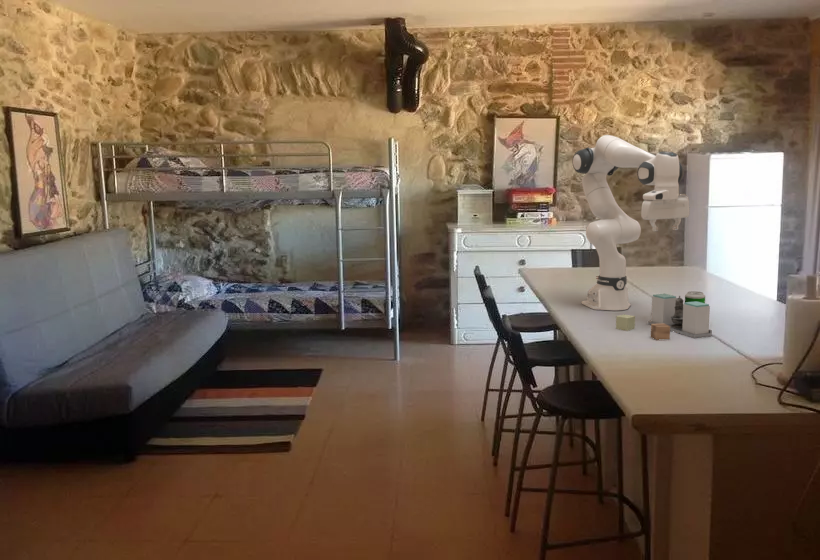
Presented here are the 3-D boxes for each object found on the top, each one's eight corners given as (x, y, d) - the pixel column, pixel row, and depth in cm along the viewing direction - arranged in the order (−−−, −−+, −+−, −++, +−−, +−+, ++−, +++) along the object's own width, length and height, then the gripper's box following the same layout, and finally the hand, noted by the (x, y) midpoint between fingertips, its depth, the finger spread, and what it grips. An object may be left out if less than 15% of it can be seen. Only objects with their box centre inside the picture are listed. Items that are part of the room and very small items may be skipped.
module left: (651, 321, 298) (652, 294, 297) (663, 319, 300) (664, 293, 299) (663, 324, 292) (663, 297, 290) (675, 323, 294) (676, 296, 292)
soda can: (691, 325, 295) (693, 294, 294) (680, 321, 303) (681, 291, 301) (708, 323, 297) (709, 293, 296) (696, 319, 305) (697, 290, 303)
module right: (682, 330, 282) (683, 302, 280) (695, 328, 284) (696, 301, 282) (695, 334, 275) (696, 305, 273) (708, 332, 277) (709, 304, 275)
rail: (648, 323, 299) (648, 318, 298) (665, 322, 301) (665, 316, 301) (694, 338, 274) (694, 332, 274) (711, 335, 277) (711, 330, 277)
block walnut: (650, 337, 278) (651, 323, 277) (663, 336, 278) (664, 323, 277) (656, 340, 273) (656, 326, 272) (669, 339, 273) (670, 326, 272)
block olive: (616, 328, 292) (616, 316, 291) (623, 326, 295) (623, 314, 294) (627, 331, 288) (627, 318, 287) (634, 328, 291) (635, 316, 290)
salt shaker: (683, 324, 291) (684, 294, 289) (689, 328, 285) (690, 296, 283) (668, 325, 291) (669, 294, 289) (673, 328, 285) (674, 297, 283)
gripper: (682, 193, 295) (681, 228, 298) (639, 195, 288) (638, 231, 291) (694, 193, 290) (692, 229, 292) (649, 195, 283) (648, 232, 285)
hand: (665, 230), depth 291 cm, fingers open, 8 cm apart
